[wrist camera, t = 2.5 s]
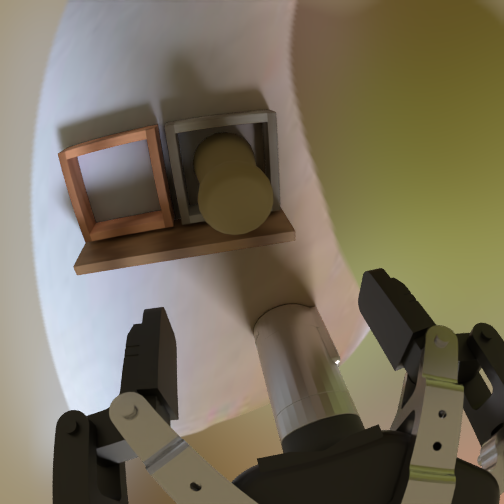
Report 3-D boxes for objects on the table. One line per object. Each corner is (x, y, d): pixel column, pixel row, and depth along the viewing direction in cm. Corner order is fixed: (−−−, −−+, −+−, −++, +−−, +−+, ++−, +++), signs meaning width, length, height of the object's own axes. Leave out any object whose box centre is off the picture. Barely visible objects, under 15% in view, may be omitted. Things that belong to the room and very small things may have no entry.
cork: (265, 169, 29) (300, 217, 20) (215, 201, 30) (226, 263, 21) (233, 120, 26) (254, 143, 17) (180, 155, 27) (171, 199, 18)
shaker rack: (274, 109, 26) (293, 117, 21) (278, 212, 32) (295, 240, 27) (64, 148, 24) (37, 166, 19) (92, 243, 30) (77, 275, 25)
